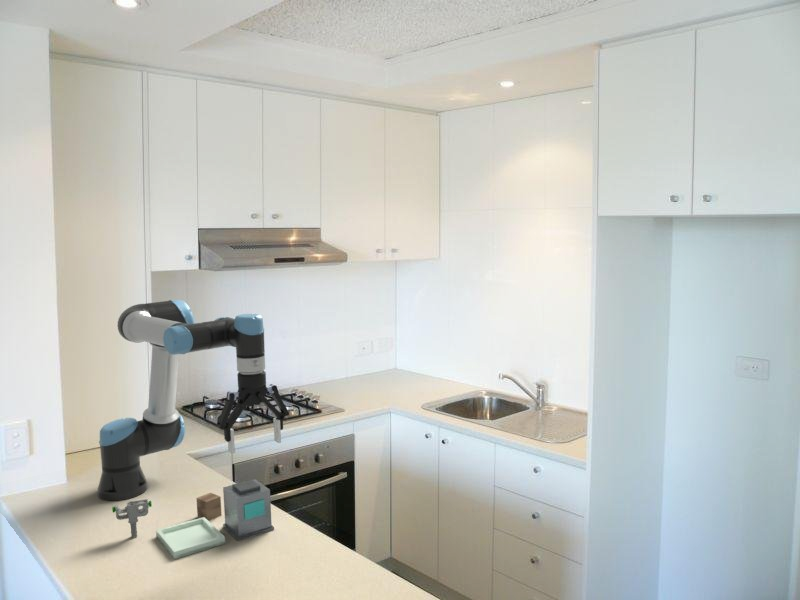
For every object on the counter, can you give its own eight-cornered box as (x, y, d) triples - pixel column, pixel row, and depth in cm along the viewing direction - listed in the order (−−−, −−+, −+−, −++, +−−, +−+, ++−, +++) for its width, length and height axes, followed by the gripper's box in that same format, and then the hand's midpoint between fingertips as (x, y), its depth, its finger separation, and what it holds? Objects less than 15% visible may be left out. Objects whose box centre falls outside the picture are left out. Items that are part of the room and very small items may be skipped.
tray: (156, 536, 200) (156, 530, 200) (204, 523, 208) (204, 516, 208) (174, 559, 187) (174, 552, 187) (225, 543, 195) (224, 536, 195)
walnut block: (197, 516, 213) (196, 497, 212) (211, 511, 217) (210, 492, 216) (207, 521, 210) (206, 502, 209) (221, 515, 213) (220, 496, 213)
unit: (222, 526, 206) (220, 483, 204) (258, 516, 212) (255, 474, 210) (237, 540, 197) (235, 496, 195) (274, 529, 203) (272, 486, 201)
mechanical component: (115, 537, 200) (112, 504, 199) (153, 531, 204) (151, 498, 202) (114, 542, 197) (112, 508, 196) (153, 535, 201) (151, 502, 200)
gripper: (212, 381, 181) (216, 460, 184) (299, 366, 196) (302, 440, 198) (201, 375, 187) (206, 452, 190) (286, 362, 202) (289, 434, 205)
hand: (255, 446), depth 194 cm, fingers open, 13 cm apart
